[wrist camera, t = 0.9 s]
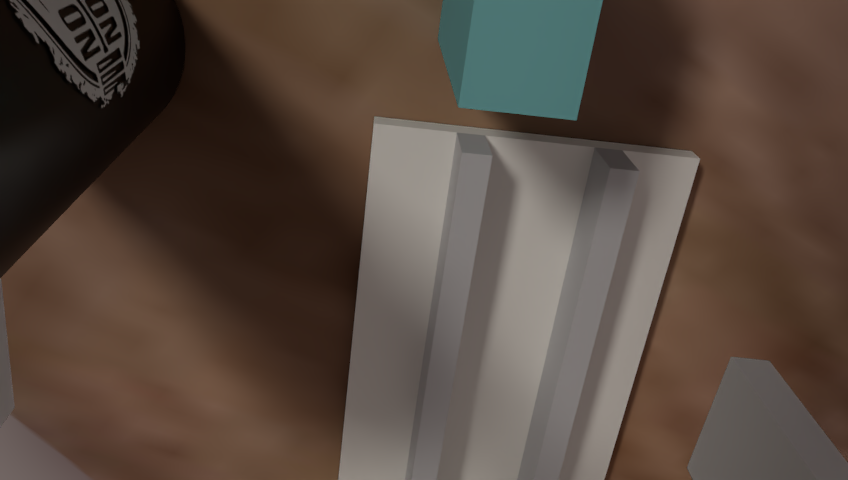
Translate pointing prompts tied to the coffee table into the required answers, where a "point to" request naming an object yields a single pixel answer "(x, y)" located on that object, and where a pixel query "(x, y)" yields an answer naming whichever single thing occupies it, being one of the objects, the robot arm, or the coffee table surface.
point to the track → (503, 300)
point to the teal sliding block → (519, 54)
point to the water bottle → (75, 100)
